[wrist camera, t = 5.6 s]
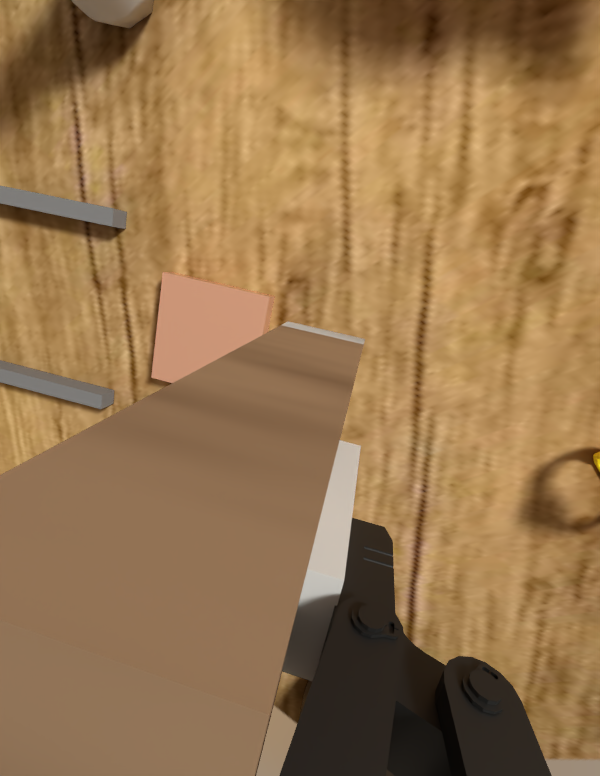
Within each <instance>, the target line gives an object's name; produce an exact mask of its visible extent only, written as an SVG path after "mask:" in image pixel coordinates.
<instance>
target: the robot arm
mask: <svg viewBox="0 0 600 776" xmlns="http://www.w3.org/2000/svg"><path fill="white" fill-rule="evenodd" d="M360 449H361V446H360V445H356V444H352V443H348V442H344V441H339V445H338V449H337V453H336V457H335V461H334V465H333V469H332V473H331V477H330V481H329V485H328V489H327V493H326V497H325V501H324V505H323V509H322V513H321V517H320V521H319V525H318V529H317V532H316V536H315V540H314V544H313V548H312V552H311V556H310V560H309V564H308V568H307V572H306V576H305V580H304V584H303V588H302V592H301V596H300V600H299V604H298V608H297V612H296V616H295V620H294V624H293V629H292V633H291V637H290V641H289V645H288V649H287V653H286V657H285V661H284V665H283V669H282V671H283V672H286V673H289V674H292V675H295V676H297V677H300V678H303V679H306V680H309V682H308V683H307V686H306V688H305V691H304V696H303V701H302V707H301V712H300V718H299V721H298V724H297V727H296V730H295V733H294V736H293V739H292V741H291V744H290V747H289V750H288V753H287V756H286V759H285V762H284V764H283V767H282V770H281V773H280V776H551V773H550V771H549V768H548V766H547V764H546V761H545V759H544V756H543V754H542V751H541V749H540V746H539V744H538V741H537V739H536V736H535V734H534V731H533V729H532V726H531V724H530V721H529V719H528V717H527V714H526V712H525V709H524V707H523V704H522V702H521V700H520V698H519V696H518V695H517V693H516V691H515V689H514V688H513V686H512V685H511V684H510V683H509V682H508V681H507V680H506V679H505V677H504V676H503V675H502V674H501V673H500V672H498V671H497V670H495V669H494V668H493V667H491V666H490V665H488V664H487V663H485V662H483V661H480V660H478V659H475V658H473V657H463V656H458V657H456V658H454V659H451V660H449V662H448V663H447V665H444V664H442V663H441V662H439V661H437V660H436V659H434V658H432V657H431V656H429V655H428V654H426V653H424V652H423V651H422V650H420V649H419V648H418V647H416V646H415V645H414V644H413V643H412V642H411V641H410V640H409V639H408V638H407V637H406V636H405V634H404V633H403V627H402V625H401V623H400V621H399V619H398V617H397V616H396V614H395V595H394V569H393V542H392V539H391V537H390V536H389V534H388V532H387V531H386V529H385V527H382V526H379V525H375V524H372V523H368V522H365V521H361V520H358V519H354V518H352V514H353V506H354V497H355V489H356V481H357V473H358V465H359V457H360Z"/></svg>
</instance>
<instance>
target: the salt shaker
mask: <svg viewBox="0 0 600 776" xmlns="http://www.w3.org/2000/svg"><path fill="white" fill-rule="evenodd" d="M71 1H72V2H73V3H74V4H75V5H76V6H77V7H79V8H80V9H81V10H82V11H83V12H84V13H85V14H86V15H87V16H88V17H90V18H91V19H93V20H94V21H97V22H102V23H106V24H110V25H115V26H120V27H126V28H131V27H133V26H134V25H135V24H137V23H138V22H139V21H141V20H142V19H144V18H145V17H146V16H148V15H149V14H151V13H152V10H153V2H154V0H71Z"/></svg>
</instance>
